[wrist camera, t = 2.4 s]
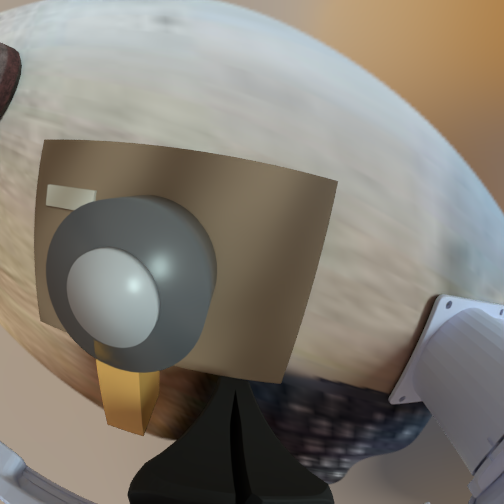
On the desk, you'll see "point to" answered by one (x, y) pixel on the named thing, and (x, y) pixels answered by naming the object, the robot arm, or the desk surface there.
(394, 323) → the desk surface
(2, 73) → the can
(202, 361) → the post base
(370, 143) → the desk surface
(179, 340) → the toy saucepan
